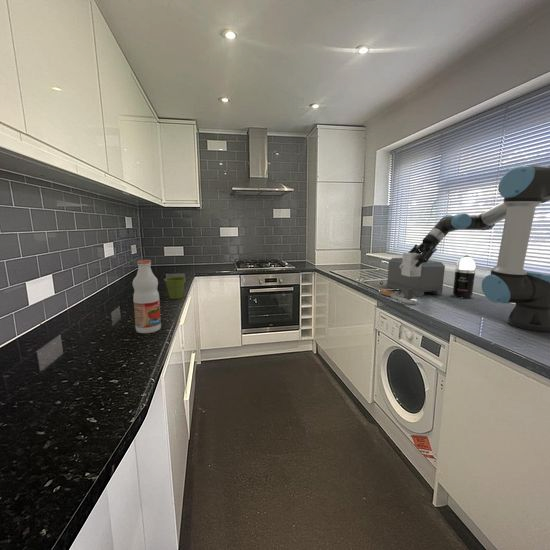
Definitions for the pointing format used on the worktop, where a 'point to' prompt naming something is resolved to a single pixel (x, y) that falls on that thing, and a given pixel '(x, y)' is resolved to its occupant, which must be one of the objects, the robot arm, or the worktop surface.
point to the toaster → (417, 278)
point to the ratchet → (404, 299)
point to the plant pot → (175, 287)
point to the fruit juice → (146, 299)
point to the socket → (410, 264)
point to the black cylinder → (464, 277)
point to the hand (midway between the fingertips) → (405, 269)
